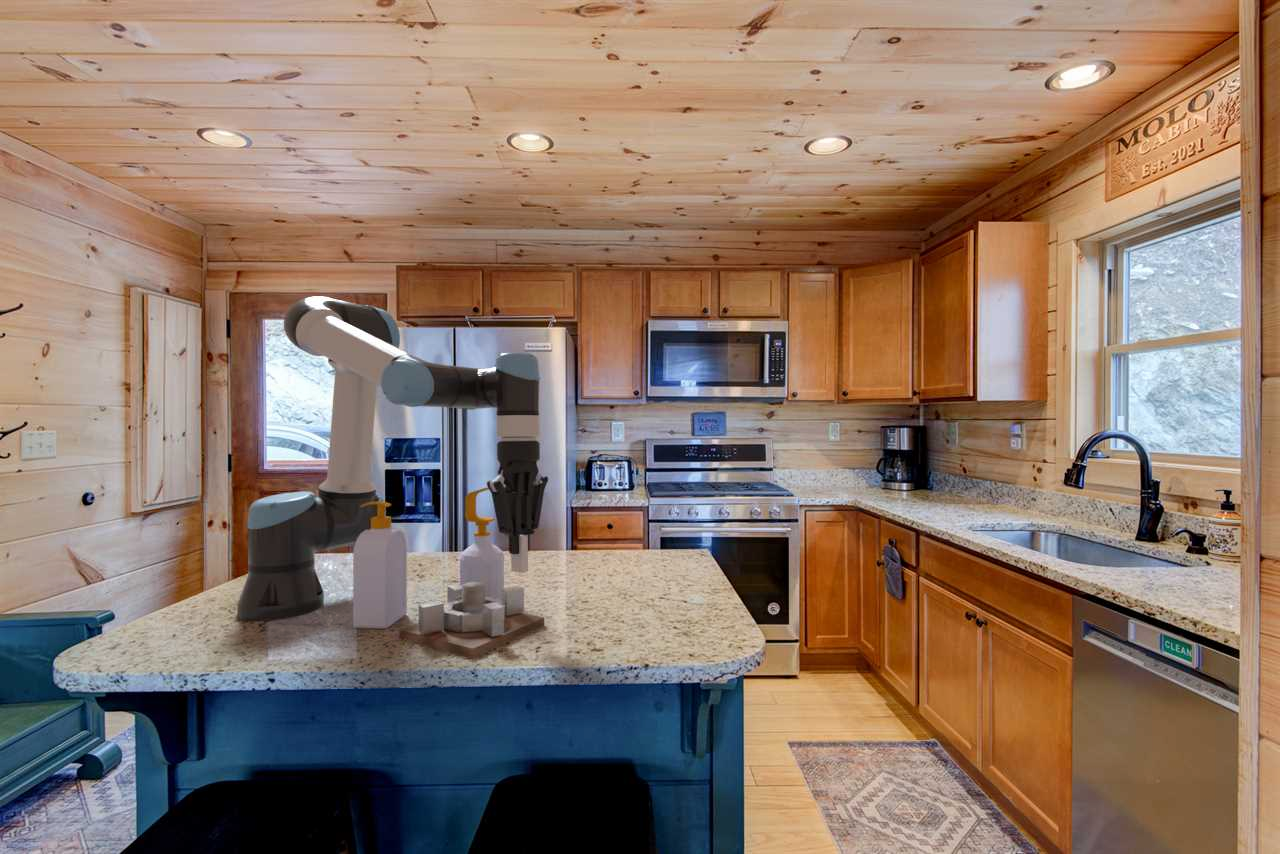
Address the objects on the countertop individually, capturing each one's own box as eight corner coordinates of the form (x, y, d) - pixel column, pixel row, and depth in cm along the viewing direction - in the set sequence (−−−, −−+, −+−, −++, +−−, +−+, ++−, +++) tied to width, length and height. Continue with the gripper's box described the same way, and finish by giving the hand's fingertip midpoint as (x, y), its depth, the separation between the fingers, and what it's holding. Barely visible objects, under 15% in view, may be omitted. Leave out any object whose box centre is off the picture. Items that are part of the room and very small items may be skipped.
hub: (397, 638, 103) (397, 590, 103) (474, 610, 119) (474, 568, 119) (470, 658, 94) (470, 605, 94) (544, 625, 110) (544, 580, 110)
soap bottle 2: (492, 609, 119) (492, 489, 119) (451, 607, 121) (451, 488, 121) (510, 597, 128) (510, 485, 128) (472, 595, 130) (472, 484, 130)
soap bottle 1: (372, 613, 117) (372, 499, 117) (407, 614, 116) (407, 499, 117) (348, 629, 108) (348, 504, 108) (385, 629, 107) (386, 505, 108)
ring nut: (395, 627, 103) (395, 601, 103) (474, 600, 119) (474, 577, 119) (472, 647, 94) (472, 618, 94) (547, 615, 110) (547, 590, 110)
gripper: (529, 439, 113) (531, 562, 112) (475, 440, 102) (476, 576, 102) (558, 439, 108) (560, 566, 108) (505, 440, 98) (506, 581, 97)
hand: (519, 571), depth 105 cm, fingers closed
